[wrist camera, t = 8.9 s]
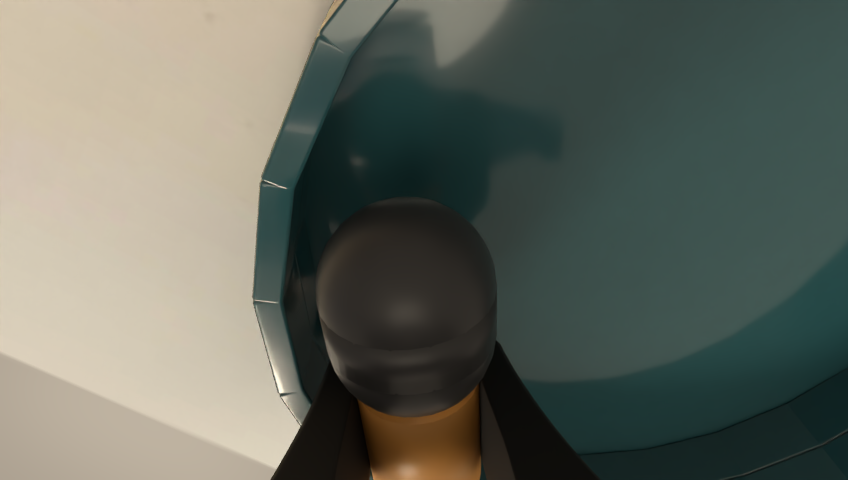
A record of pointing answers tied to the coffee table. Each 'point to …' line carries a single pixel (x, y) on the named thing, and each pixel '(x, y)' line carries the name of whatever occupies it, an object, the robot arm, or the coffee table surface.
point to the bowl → (599, 212)
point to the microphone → (411, 333)
